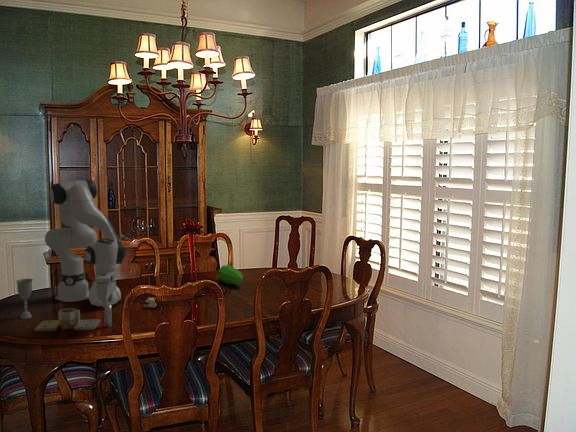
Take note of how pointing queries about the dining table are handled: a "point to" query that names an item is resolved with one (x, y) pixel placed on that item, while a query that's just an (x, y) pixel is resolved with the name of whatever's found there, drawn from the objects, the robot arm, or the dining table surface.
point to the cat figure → (150, 303)
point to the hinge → (68, 322)
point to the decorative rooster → (96, 302)
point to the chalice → (25, 294)
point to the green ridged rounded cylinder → (230, 275)
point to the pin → (108, 316)
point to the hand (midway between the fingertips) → (107, 304)
